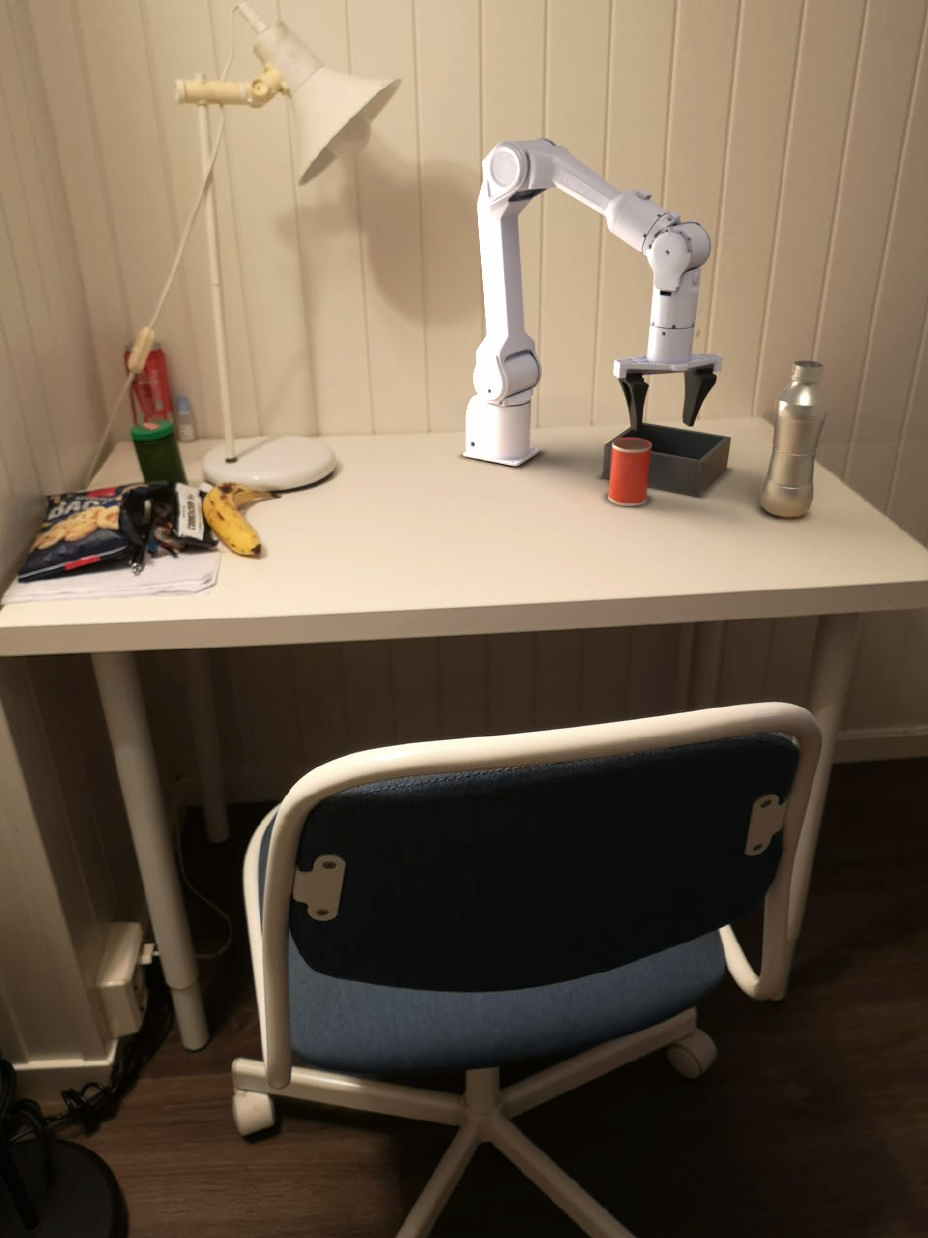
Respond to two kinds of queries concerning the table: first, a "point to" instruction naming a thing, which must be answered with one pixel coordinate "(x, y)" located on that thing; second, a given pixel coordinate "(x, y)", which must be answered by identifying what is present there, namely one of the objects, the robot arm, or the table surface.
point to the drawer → (678, 458)
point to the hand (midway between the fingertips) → (662, 426)
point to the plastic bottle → (795, 441)
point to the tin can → (629, 471)
